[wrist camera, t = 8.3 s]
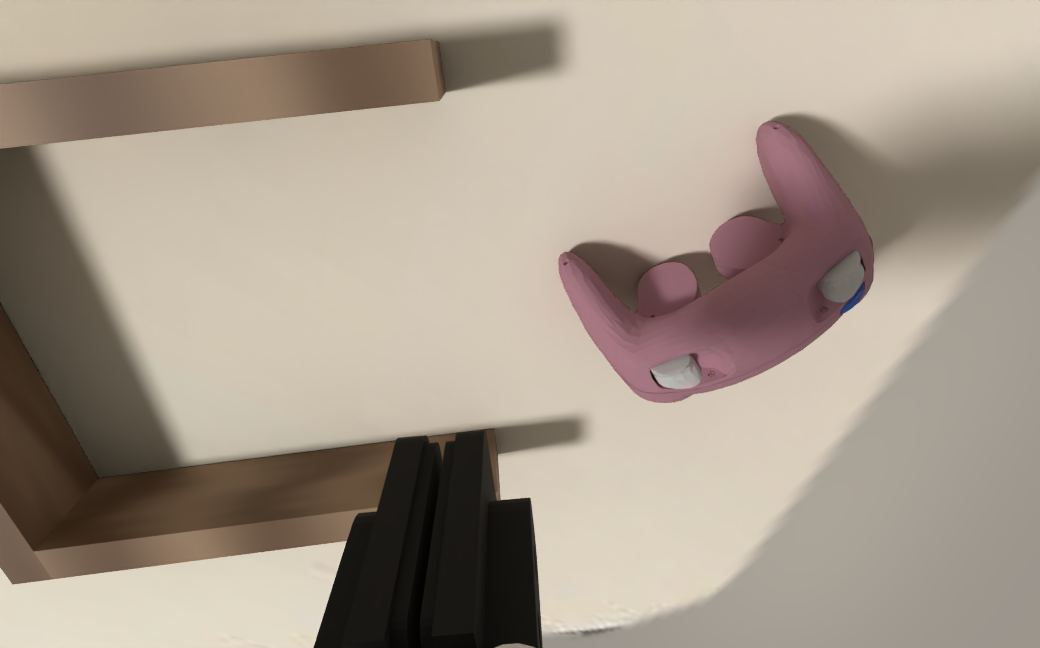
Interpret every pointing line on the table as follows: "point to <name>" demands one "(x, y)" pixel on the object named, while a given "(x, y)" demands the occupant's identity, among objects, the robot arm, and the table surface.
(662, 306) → the video game controller
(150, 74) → the frame
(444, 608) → the robot arm
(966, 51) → the table surface
